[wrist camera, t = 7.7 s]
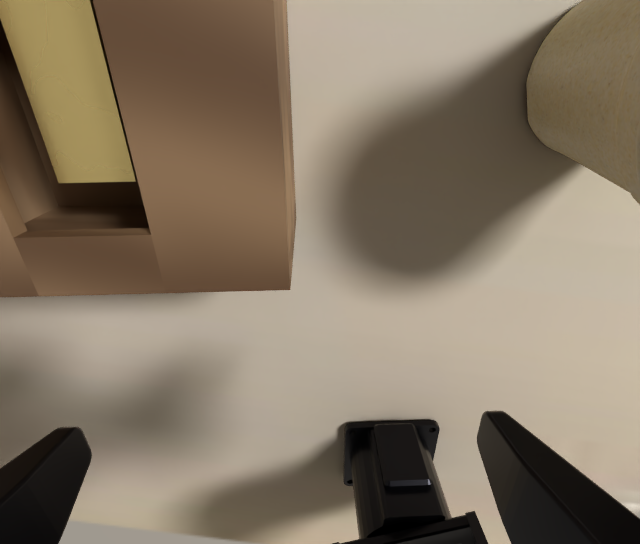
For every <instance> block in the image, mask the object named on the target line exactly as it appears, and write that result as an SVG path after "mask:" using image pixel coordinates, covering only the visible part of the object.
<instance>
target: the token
mask: <svg viewBox="0 0 640 544" xmlns="http://www.w3.org/2000/svg"><path fill="white" fill-rule="evenodd" d="M0 19H1V22H2V25H3V28H4V31H5V33H6V36H7V39H8V42H9V45H10V47H11V50H12V53H13V56H14V59H15V61H16V64H17V67H18V70H19V73H20V76H21V78H22V81H23V84H24V87H25V90H26V92H27V95H28V98H29V101H30V104H31V107H32V109H33V112H34V115H35V118H36V121H37V123H38V126H39V129H40V132H41V135H42V137H43V140H44V143H45V146H46V149H47V152H48V154H49V157H50V160H51V163H52V166H53V168H54V171H55V174H56V177H57V180H58V183H90V182H136V181H138V180H137V176H136V172H135V168H134V164H133V160H132V156H131V152H130V148H129V144H128V140H127V136H126V132H125V127H124V123H123V119H122V115H121V111H120V107H119V103H118V99H117V95H116V91H115V87H114V83H113V79H112V75H111V71H110V67H109V63H108V59H107V55H106V51H105V47H104V43H103V39H102V35H101V31H100V27H99V23H98V19H97V15H96V11H95V7H94V3H93V0H0Z"/></svg>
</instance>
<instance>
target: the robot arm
mask: <svg viewBox="0 0 640 544" xmlns="http://www.w3.org/2000/svg"><path fill="white" fill-rule="evenodd" d="M438 434H439V426H438V423H437V422H436V421H434V420H422V421H393V422H364V423H349V424H347V425H346V426H345V441H344V472H343V478H344V484H345V485H348V486H353V489H354V497H355V506H356V515H357V523H358V532H359V539H358V540H354V541H350V542H345V543H341V544H488V542H487V540H486V537H485V535H484V532H483V530H482V528H481V525H480V523H479V520H478V518H477V516H476V513H475V511H472V512H468V513H465V514H466V515H463V516H459V517H454V518H452V517H451V514H450V511H449V509H448V506H447V503H446V500H445V497H444V494H443V491H442V488H441V485H440V482H439V479H438V476H437V473H436V470H435V467H434V464H433V458H434V453H435V448H436V444H437V439H438ZM477 444H478V448H479V451H480V454H481V458H482V461H483V464H484V467H485V470H486V473H487V476H488V479H489V483H490V486H491V489H492V492H493V495H494V498H495V501H496V504H497V508H498V511H499V513H500V516H501V519H502V522H503V524H504V527H505V529H506V532H507V534H508V537H509V539H510V541H511V544H640V518H638V517H637V516H636V515H635V514H633V513H632V512H631V511H630V510H628V509H627V508H626V507H625V506H623V505H622V504H621V503H619V502H618V501H617V500H616V499H614V498H613V497H612V496H611V495H609V494H608V493H607V492H606V491H604V490H603V489H602V488H600V487H599V486H598V485H597V484H595V483H594V482H593V481H592V480H590V479H589V478H588V477H586V476H585V475H584V474H583V473H581V472H580V471H579V470H578V469H576V468H575V467H574V466H573V465H571V464H570V463H569V462H567V461H566V460H565V459H564V458H562V457H561V456H560V455H559V454H557V453H556V452H555V451H554V450H552V449H551V448H550V447H548V446H547V445H546V444H545V443H543V442H542V441H541V440H540V439H538V438H537V437H536V436H535V435H533V434H532V433H531V432H529V431H528V430H527V429H526V428H524V427H523V426H522V425H521V424H519V423H518V422H517V421H516V420H514V419H513V418H512V417H510V416H509V415H508V414H507V413H505V412H503V411H486V412H484V413H483V415H482V418H481V422H480V426H479V430H478V434H477ZM91 456H92V453H91V449H90V447H89V444H88V442H87V440H86V438H85V436H84V434H83V431H82V430H81V429H80V428H79V427H60V428H57V429H56V430H54V431H52V432H51V433H50V434H48V435H47V436H45V437H44V438H43V439H41V440H40V441H38V442H37V443H36V444H34V445H33V446H31V447H30V448H29V449H27V450H26V451H24V452H23V453H22V454H20V455H19V456H17V457H16V458H14V459H13V460H12V461H10V462H9V463H7V464H6V465H5V466H3V467H2V468H0V544H58V543H59V541H60V539H61V537H62V534H63V531H64V529H65V527H66V525H67V522H68V519H69V517H70V514H71V512H72V509H73V506H74V504H75V501H76V499H77V496H78V493H79V491H80V488H81V486H82V483H83V480H84V478H85V475H86V472H87V470H88V467H89V465H90V462H91ZM332 544H340V543H339V542H337V543H332Z"/></svg>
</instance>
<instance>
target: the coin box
mask: <svg viewBox="0 0 640 544" xmlns="http://www.w3.org/2000/svg"><path fill="white" fill-rule="evenodd" d="M93 3H94V7H95V11H96V15H97V19H98V23H99V27H100V31H101V35H102V39H103V43H104V47H105V51H106V55H107V59H108V63H109V67H110V71H111V75H112V79H113V83H114V87H115V91H116V95H117V99H118V103H119V107H120V111H121V115H122V119H123V123H124V127H125V132H126V136H127V140H128V144H129V148H130V152H131V156H132V160H133V164H134V168H135V172H136V176H137V180H138V181H136V182H90V183H58V180H57V177H56V174H55V171H54V168H53V166H52V163H51V160H50V157H49V154H48V152H47V149H46V146H45V143H44V140H43V137H42V135H41V132H40V129H39V126H38V123H37V121H36V118H35V115H34V112H33V109H32V107H31V104H30V101H29V98H28V95H27V92H26V90H25V87H24V84H23V81H22V78H21V76H20V73H19V70H18V67H17V64H16V61H15V59H14V56H13V53H12V50H11V47H10V45H9V42H8V39H7V36H6V33H5V31H4V28H3V25H2V22H1V19H0V297H31V296H70V295H109V294H148V293H186V292H225V291H264V290H290V286H291V274H292V262H293V250H294V238H295V226H296V204H295V182H294V159H293V137H292V114H291V91H290V69H289V46H288V24H287V1H286V0H93Z"/></svg>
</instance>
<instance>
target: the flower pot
mask: <svg viewBox="0 0 640 544" xmlns="http://www.w3.org/2000/svg"><path fill="white" fill-rule="evenodd" d="M526 88H527V113H528V122H529V124H530V127H531V129H532V130H533V132H534V133H535V135H536V136H537V137H538V139H539V140H540V141H541V142H542V143H543V144H545V145H546V146H547V147H549V148H550V149H552V150H555V151H557V152H559V153H561V154H563V155H565V156H567V157H569V158H570V159H572V160H574V161H576V162H578V163H580V164H582V165H583V166H585V167H587V168H588V169H590V170H592V171H594V172H595V173H597V174H599V175H601V176H602V177H604V178H606V179H608V180H609V181H611V182H613V183H614V184H616V185H618V186H620V187H621V188H623V189H625V190H626V191H628V192H630V193H631V195H632V196H633V198H634V199H635V200H636V201H637V202H638V203H639V204H640V0H583V1H582V2H580V3H579V4H577V5H576V6H575V7H574V8H572V9H571V10H570V11H569V12H568V13H567V14H566V15H565V16H564V17H563V18H562V19H561V20H560V21H559V22H558V23H557V24H556V25H555V26H554V28H553V29H552V30H551V31H550V33H549V34H548V35H547V37H546V38H545V40H544V41H543V43H542V45H541V46H540V48H539V50H538V52H537V54H536V56H535V58H534V60H533V62H532V65H531V68H530V71H529V74H528V78H527V83H526Z"/></svg>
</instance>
